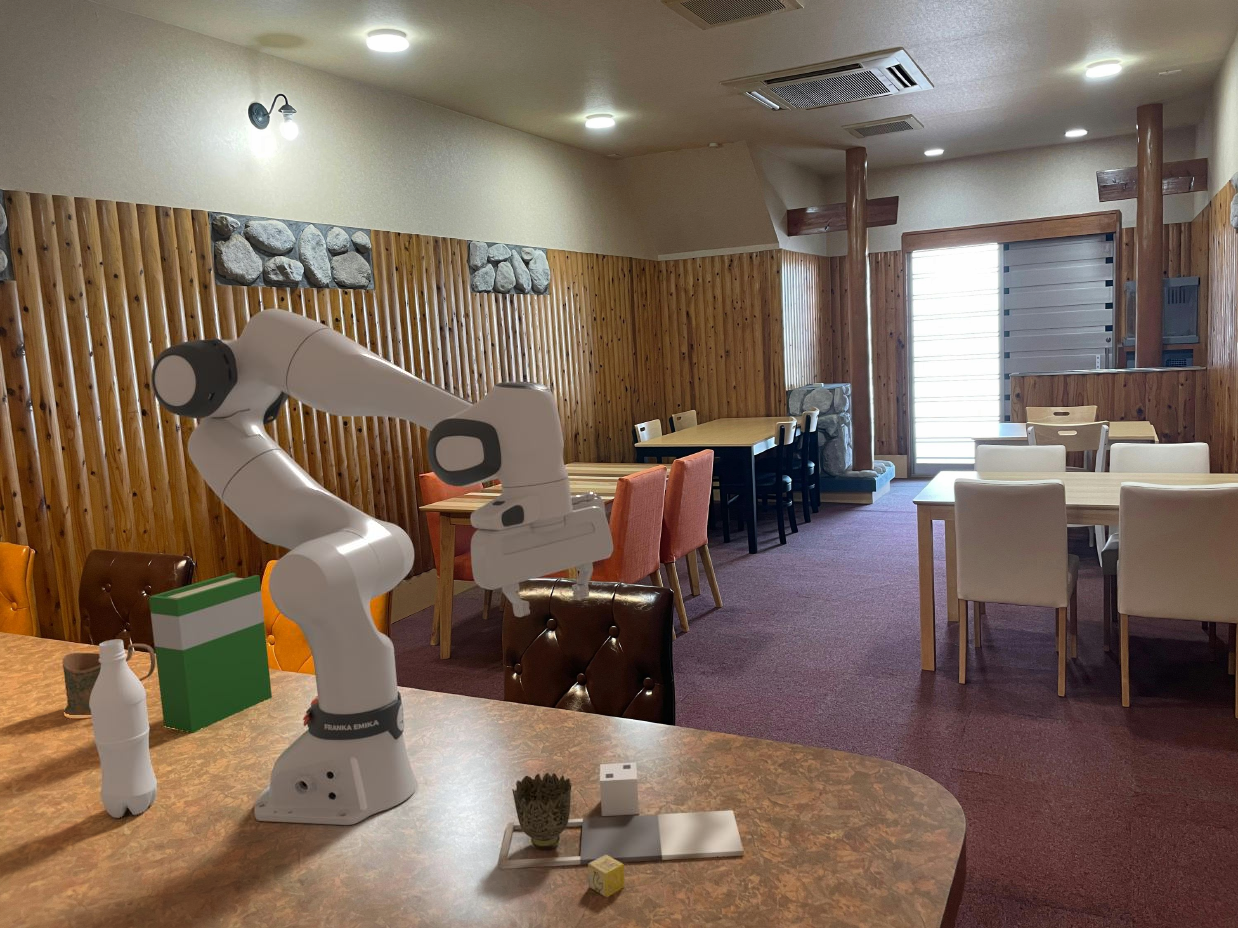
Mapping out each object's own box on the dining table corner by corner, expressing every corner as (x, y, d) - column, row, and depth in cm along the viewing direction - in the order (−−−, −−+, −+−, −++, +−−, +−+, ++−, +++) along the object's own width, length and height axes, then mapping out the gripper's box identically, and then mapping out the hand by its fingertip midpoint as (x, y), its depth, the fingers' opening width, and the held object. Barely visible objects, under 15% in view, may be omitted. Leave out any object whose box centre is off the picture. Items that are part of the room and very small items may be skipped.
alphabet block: (607, 876, 109) (606, 852, 108) (625, 886, 106) (624, 862, 106) (588, 887, 107) (586, 863, 106) (606, 898, 104) (604, 873, 104)
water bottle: (170, 800, 135) (150, 636, 132) (130, 824, 128) (108, 652, 125) (133, 794, 137) (113, 633, 134) (91, 818, 130) (69, 649, 127)
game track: (498, 868, 112) (498, 864, 111) (508, 826, 121) (507, 822, 121) (743, 855, 112) (743, 850, 111) (732, 814, 121) (732, 810, 121)
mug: (143, 716, 169) (135, 653, 168) (49, 720, 169) (41, 658, 168) (174, 693, 181) (167, 634, 179) (86, 697, 181) (78, 638, 180)
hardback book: (244, 692, 179) (232, 573, 176) (271, 697, 175) (259, 575, 172) (164, 727, 163) (148, 596, 160) (192, 733, 160) (176, 599, 157)
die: (601, 815, 123) (599, 780, 122) (602, 798, 128) (600, 763, 127) (639, 813, 123) (637, 778, 122) (637, 796, 128) (636, 761, 127)
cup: (566, 862, 112) (562, 800, 111) (509, 858, 114) (504, 798, 113) (580, 830, 119) (577, 772, 118) (526, 828, 121) (522, 770, 120)
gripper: (588, 489, 128) (601, 585, 130) (458, 517, 116) (474, 622, 117) (615, 490, 123) (628, 589, 124) (482, 519, 111) (498, 629, 112)
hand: (552, 606), depth 121 cm, fingers open, 8 cm apart
